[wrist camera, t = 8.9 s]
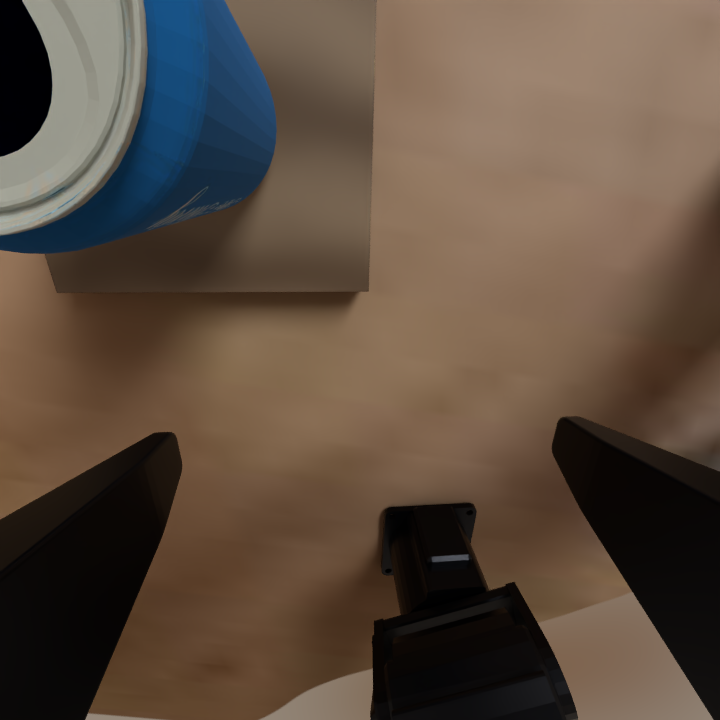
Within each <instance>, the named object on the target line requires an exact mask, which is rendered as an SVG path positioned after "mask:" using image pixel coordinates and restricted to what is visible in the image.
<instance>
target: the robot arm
mask: <svg viewBox="0 0 720 720" xmlns="http://www.w3.org/2000/svg"><path fill="white" fill-rule="evenodd" d="M552 453H553V456H554V458H555V460H556V462H557V464H558V466H559V468H560V470H561V472H562V474H563V476H564V478H565V480H566V482H567V484H568V486H569V488H570V490H571V492H572V494H573V496H574V498H575V500H576V502H577V503H578V505H579V507H580V509H581V511H582V512H583V514H584V516H585V517H586V519H587V521H588V522H589V524H590V526H591V527H592V529H593V530H594V532H595V533H596V535H597V537H598V538H599V540H600V541H601V543H602V544H603V546H604V548H605V549H606V551H607V552H608V554H609V555H610V557H611V559H612V560H613V562H614V563H615V565H616V567H617V568H618V570H619V571H620V573H621V574H622V576H623V578H624V579H625V581H626V582H627V584H628V585H629V587H630V589H631V590H632V592H633V593H634V595H635V597H636V598H637V600H638V601H639V603H640V604H641V606H642V608H643V609H644V611H645V612H646V614H647V615H648V617H649V619H650V620H651V622H652V623H653V625H654V626H655V628H656V630H657V631H658V633H659V634H660V636H661V638H662V639H663V641H664V642H665V644H666V645H667V647H668V649H669V650H670V652H671V653H672V655H673V656H674V658H675V660H676V661H677V663H678V664H679V666H680V667H681V669H682V671H683V672H684V674H685V675H686V677H687V679H688V680H689V682H690V683H691V685H692V686H693V688H694V690H695V691H696V693H697V694H698V696H699V697H700V699H701V701H702V702H703V703H704V705H705V707H706V708H707V710H708V712H709V713H710V715H711V716H712V718H713V719H714V720H720V472H719V471H717V470H714V469H712V468H709V467H707V466H704V465H702V464H699V463H696V462H694V461H691V460H689V459H686V458H684V457H681V456H679V455H676V454H673V453H671V452H668V451H666V450H663V449H661V448H658V447H656V446H653V445H650V444H648V443H645V442H643V441H640V440H638V439H635V438H633V437H630V436H627V435H625V434H622V433H620V432H617V431H615V430H612V429H610V428H607V427H604V426H602V425H599V424H597V423H594V422H592V421H589V420H587V419H584V418H581V417H578V416H571V417H562V418H560V419H559V421H558V423H557V427H556V431H555V435H554V439H553V443H552ZM181 472H182V460H181V455H180V451H179V446H178V442H177V438H176V435H175V434H174V433H172V432H158V433H153V434H151V435H149V436H148V437H146V438H144V439H142V440H141V441H139V442H137V443H135V444H133V445H132V446H130V447H128V448H126V449H125V450H123V451H121V452H119V453H117V454H116V455H114V456H112V457H110V458H109V459H107V460H105V461H103V462H102V463H100V464H98V465H96V466H94V467H93V468H91V469H89V470H87V471H86V472H84V473H82V474H80V475H78V476H77V477H75V478H73V479H71V480H70V481H68V482H66V483H64V484H63V485H61V486H59V487H57V488H55V489H54V490H52V491H50V492H48V493H47V494H45V495H43V496H41V497H39V498H38V499H36V500H34V501H32V502H31V503H29V504H27V505H25V506H23V507H22V508H20V509H18V510H16V511H15V512H13V513H11V514H9V515H8V516H6V517H4V518H2V519H0V720H85V719H86V716H87V714H88V712H89V709H90V707H91V704H92V702H93V700H94V697H95V695H96V693H97V690H98V688H99V686H100V683H101V681H102V678H103V676H104V674H105V671H106V669H107V667H108V664H109V662H110V659H111V657H112V655H113V652H114V650H115V648H116V645H117V643H118V641H119V638H120V636H121V633H122V631H123V629H124V626H125V624H126V622H127V619H128V617H129V614H130V612H131V610H132V607H133V605H134V603H135V600H136V598H137V595H138V593H139V591H140V588H141V586H142V584H143V581H144V579H145V577H146V574H147V572H148V569H149V567H150V565H151V562H152V560H153V558H154V555H155V553H156V550H157V548H158V546H159V543H160V541H161V538H162V536H163V533H164V530H165V527H166V523H167V520H168V517H169V513H170V510H171V506H172V503H173V500H174V496H175V493H176V489H177V486H178V483H179V479H180V476H181ZM468 510H469V511H468ZM391 514H393V515H391ZM475 518H476V508H475V506H474V505H473V504H471V503H461V504H442V505H423V506H403V507H390V508H388V509H386V510H385V512H384V528H383V544H382V561H381V569H382V573H383V574H384V575H394V580H395V585H396V591H397V597H398V602H399V608H400V613H401V615H400V616H397V617H393V618H389V619H386V620H383V619H379V620H376V621H374V635H373V636H372V647H373V695H372V703H371V712H370V717H371V720H578V716H577V711H576V708H575V705H574V702H573V699H572V696H571V693H570V691H569V688H568V685H567V683H566V680H565V678H564V675H563V673H562V671H561V668H560V666H559V664H558V662H557V659H556V657H555V655H554V653H553V651H552V649H551V647H550V645H549V643H548V641H547V639H546V638H545V636H544V634H543V632H542V630H541V629H540V627H539V625H538V623H537V621H536V620H535V618H534V616H533V614H532V613H531V611H530V609H529V607H528V605H527V604H526V602H525V600H524V598H523V597H522V595H521V593H520V591H519V589H518V588H517V586H516V584H515V582H512V583H508V584H505V586H504V587H500V588H497V589H493V590H490V591H489V588H488V586H487V583H486V581H485V578H484V576H483V573H482V571H481V569H480V566H479V564H478V561H477V559H476V556H475V554H474V551H473V549H472V546H471V544H470V543H471V538H472V533H473V528H474V523H475Z"/></svg>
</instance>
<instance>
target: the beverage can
mask: <svg viewBox="0 0 720 720" xmlns="http://www.w3.org/2000/svg"><path fill="white" fill-rule="evenodd" d="M276 132H277V126H276V114H275V108H274V102H273V99H272V95H271V92H270V89H269V86H268V84H267V81H266V79H265V76H264V74H263V72H262V70H261V69H260V67H259V65H258V63H257V61H256V59H255V57H254V55H253V53H252V52H251V50H250V48H249V46H248V44H247V42H246V40H245V38H244V36H243V34H242V33H241V31H240V29H239V27H238V25H237V23H236V21H235V19H234V17H233V16H232V14H231V12H230V10H229V8H228V6H227V4H226V2H225V0H0V250H4V251H11V252H19V253H41V254H54V253H62V252H71V251H78V250H82V249H86V248H90V247H94V246H97V245H101V244H105V243H108V242H112V241H115V240H119V239H122V238H126V237H129V236H133V235H136V234H140V233H143V232H147V231H150V230H154V229H157V228H161V227H164V226H168V225H171V224H175V223H178V222H182V221H185V220H189V219H192V218H196V217H199V216H203V215H206V214H210V213H213V212H217V211H220V210H224V209H227V208H229V207H231V206H234V205H236V204H238V203H239V202H241V201H242V200H244V199H245V198H246V197H248V196H249V195H250V194H251V193H252V192H253V191H254V190H255V189H256V188H257V187H258V186H259V184H260V183H261V181H262V180H263V178H264V177H265V175H266V173H267V171H268V169H269V167H270V164H271V161H272V158H273V155H274V150H275V144H276Z"/></svg>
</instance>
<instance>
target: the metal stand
mask: <svg viewBox="0 0 720 720" xmlns="http://www.w3.org/2000/svg"><path fill="white" fill-rule="evenodd" d="M225 2H226V4H227V6H228V8H229V10H230V12H231V14H232V16H233V17H234V19H235V21H236V23H237V25H238V27H239V29H240V31H241V33H242V34H243V36H244V38H245V40H246V42H247V44H248V46H249V48H250V50H251V52H252V53H253V55H254V57H255V59H256V61H257V63H258V65H259V67H260V69H261V70H262V72H263V74H264V76H265V79H266V81H267V84H268V86H269V89H270V92H271V95H272V99H273V102H274V108H275V114H276V126H277V132H276V144H275V150H274V155H273V158H272V161H271V164H270V167H269V169H268V171H267V173H266V175H265V177H264V178H263V180H262V181H261V183H260V184H259V186H258V187H257V188H256V189H255V190H254V191H253V192H252V193H251V194H250V195H249V196H248V197H246V198H245V199H244V200H242V201H241V202H239V203H238V204H236V205H234V206H231V207H229V208H227V209H224V210H220V211H217V212H213V213H210V214H206V215H203V216H199V217H196V218H192V219H189V220H185V221H182V222H178V223H175V224H171V225H168V226H164V227H161V228H157V229H154V230H150V231H147V232H143V233H140V234H136V235H133V236H129V237H126V238H122V239H119V240H115V241H112V242H108V243H105V244H101V245H97V246H94V247H90V248H86V249H82V250H78V251H71V252H62V253H54V254H45V257H46V260H47V263H48V266H49V269H50V272H51V275H52V279H53V282H54V285H55V288H56V291H57V293H123V292H367V291H369V257H370V221H371V185H372V149H373V113H374V77H375V40H376V4H377V0H225Z"/></svg>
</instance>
